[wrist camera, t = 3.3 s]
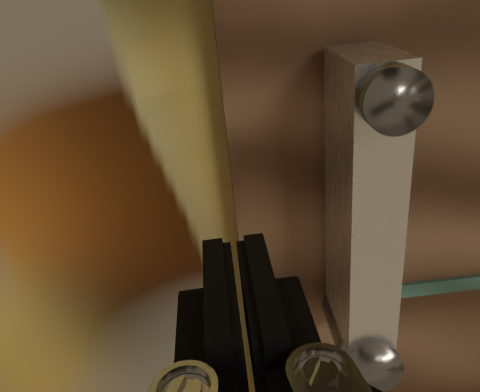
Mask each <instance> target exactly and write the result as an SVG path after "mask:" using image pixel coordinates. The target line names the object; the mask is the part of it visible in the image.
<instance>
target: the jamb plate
mask: <svg viewBox="0 0 480 392" xmlns="http://www.w3.org/2000/svg"><path fill="white" fill-rule="evenodd" d="M212 7H213V16H214V25H215V34H216V43H217V52H218V61H219V70H220V78H221V87H222V96H223V105H224V114H225V123H226V132H227V141H228V150H229V159H230V168H231V177H232V186H233V195H234V203H235V212H236V221H237V230H238V239H239V241H244V238H243V235H250V234H258V233H263V235H264V239H265V243H266V246H267V250H268V254H269V258H270V261H271V265H272V269H273V273H274V277H275V278H283V277H291V276H298V277H299V280H300V282H301V285H302V288H303V291H304V294H305V297H306V300H307V302H308V305H309V308H310V311H311V314H312V317H313V320H314V323H315V325H316V328H317V331H318V334H319V337H320V340H321V343H329V344H332V345H335V344H334V341H333V338H332V336H331V333H330V330H329V327H328V324H327V321H326V318H325V315H324V312H323V309H322V301H323V298H324V296H325V295H326V259H325V131H324V46H330V45H339V44H348V43H358V42H367V41H379V42H382V43H384V44H387V45H390V46H392V47H395V48H398V49H401V50H403V51H406V52H409V53H411V54H414V55H417V56H419V57H422V67H421V72H423V73H424V74H425V75H427V77H428V78H429V79H430V81H431V83H432V85H433V88H434V104H433V107H432V110H431V112H430V114H429V116H428V117H427V119H426V120H425V121H424V123H423V124H422V125H421V126H419V127H418V128H417V129H416V134H415V145H414V157H413V168H412V179H411V190H410V202H409V213H408V224H407V235H406V246H405V258H404V269H403V280H402V291H401V303H400V314H399V325H398V336H397V347H396V350H397V352H398V354H399V356H400V358H401V360H402V362H403V364H404V368H405V371H404V375H403V378H402V379H401V381H400V382H399V383H398V384H397V385H396V386H395V387H393V388H392V389H390V390H388V391H386V392H480V0H212Z"/></svg>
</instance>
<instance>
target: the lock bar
mask: <svg viewBox="0 0 480 392" xmlns="http://www.w3.org/2000/svg"><path fill="white" fill-rule="evenodd" d="M421 67H422V57H419V56H417V55H414V54H411V53H409V52H406V51H403V50H401V49H398V48H395V47H392V46H390V45H387V44H384V43H382V42H379V41H367V42H358V43H348V44H339V45H330V46H324V131H325V259H326V295H325V296H324V298H323V301H322V309H323V312H324V315H325V318H326V321H327V324H328V327H329V330H330V333H331V336H332V338H333V341H334V344H335V346H337V347H339V348H341V349H342V350H344V351H345V352H347V354H348V355H349V356H350V357H351V358H352V359H353V361H354V362H355V364H356V366H357V367H358V369H359V370H360V372H361V374H362V375H363V377H364V378H365V380H366V382H367V383H368V384H369V385H371V386H373V387H375V388H377V389H379V390H381V391H383V392H386V391H388V390H390V389H392V388H393V387H395V386H396V385H397V384H398V383H399V382H400V381H401V379H402V378H403V375H404V371H405V368H404V364H403V362H402V360H401V358H400V356H399V354H398V352H397V350H396V347H397V336H398V325H399V314H400V303H401V291H402V280H403V269H404V258H405V246H406V235H407V224H408V213H409V202H410V190H411V179H412V168H413V157H414V145H415V134H416V129H417V128H418V127H419V126H421V125H422V124H423V123H424V121H425V120H426V119H427V117H428V116H429V114H430V112H431V110H432V107H433V104H434V88H433V85H432V83H431V81H430V79H429V78H428V77H427V75H425V74H424V73H423V72H421Z"/></svg>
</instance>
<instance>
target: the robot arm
mask: <svg viewBox="0 0 480 392" xmlns="http://www.w3.org/2000/svg"><path fill="white" fill-rule="evenodd" d="M243 238H244V241H236V242H237V251H238V260H239V269H240V277H241V286H242V295H243V303H244V312H245V321H246V328H247V335H248V342H249V349H250V356H251V363H252V370H253V377H254V384H255V391H256V392H383V391H381V390H379V389H377V388H375V387H373V386H371V385H369V384H368V383H367V382H366V380H365V378H364V377H363V375H362V374H361V372H360V370H359V369H358V367H357V366H356V364H355V362H354V361H353V359H352V358H351V357H350V356H349V355H348V354H347V352H345V351H344V350H342V349H341V348H339V347H337V346H335V345H332V344H329V343H321V340H320V337H319V334H318V331H317V328H316V325H315V323H314V320H313V317H312V314H311V311H310V308H309V305H308V302H307V300H306V297H305V294H304V291H303V288H302V285H301V282H300V280H299V277H298V276H291V277H283V278H275V277H274V273H273V269H272V265H271V261H270V258H269V254H268V250H267V246H266V243H265V239H264V235H263V233H258V234H250V235H243ZM202 243H203V288H200V289H191V290H184V291H179V295H178V310H177V311H178V312H177V326H176V342H175V358H174V363H173V364H170V365H168V366H167V367H165V368H164V369H162V370H161V371H160V372H159V373H158V374H157V375H156V376H155V377H154V379H153V381H152V383H151V385H150V387H149V390H148V392H249V388H248V379H247V371H246V363H245V355H244V347H243V339H242V331H241V323H240V315H239V307H238V299H237V291H236V284H235V276H234V268H233V260H232V252H231V245H230V242H228V243H223V242H222V238H218V239H211V240H203V242H202Z"/></svg>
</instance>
